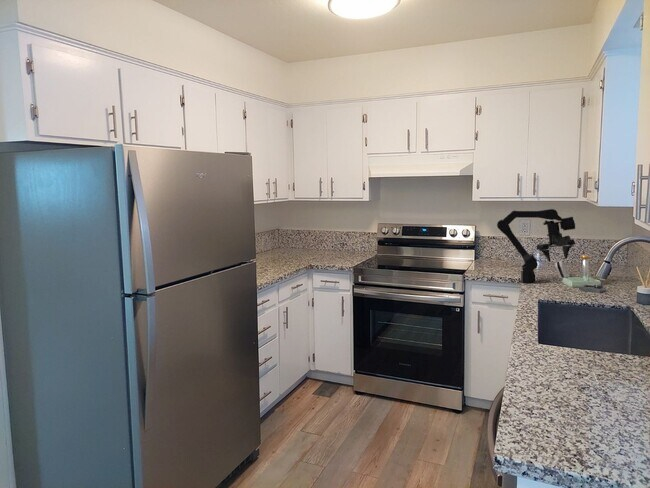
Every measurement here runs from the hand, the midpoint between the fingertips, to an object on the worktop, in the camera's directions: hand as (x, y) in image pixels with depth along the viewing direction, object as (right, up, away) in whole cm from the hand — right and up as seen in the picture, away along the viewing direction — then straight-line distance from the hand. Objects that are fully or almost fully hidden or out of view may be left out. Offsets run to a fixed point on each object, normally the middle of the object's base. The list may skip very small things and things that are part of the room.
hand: (557, 260), depth 249 cm
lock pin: (+11, -12, -7) cm, 18 cm away
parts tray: (+9, -13, -6) cm, 17 cm away
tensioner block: (+7, -14, -21) cm, 26 cm away
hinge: (+13, -10, +21) cm, 27 cm away
